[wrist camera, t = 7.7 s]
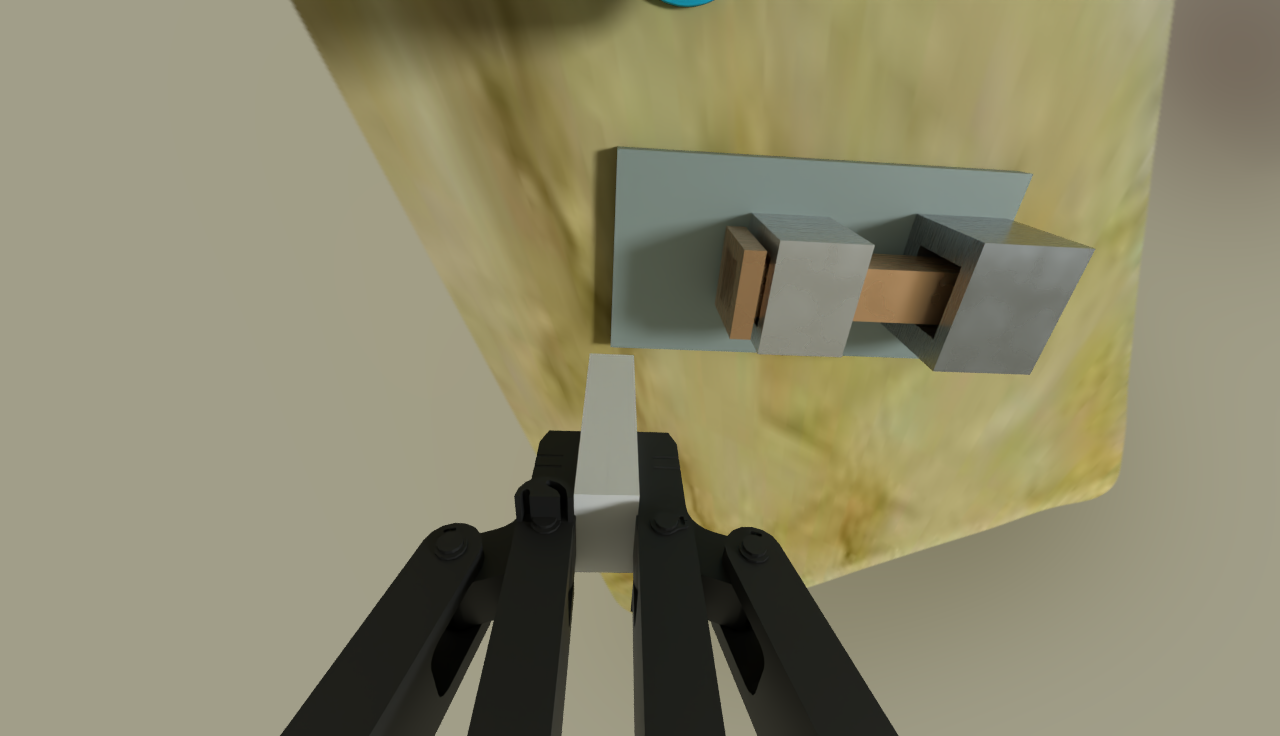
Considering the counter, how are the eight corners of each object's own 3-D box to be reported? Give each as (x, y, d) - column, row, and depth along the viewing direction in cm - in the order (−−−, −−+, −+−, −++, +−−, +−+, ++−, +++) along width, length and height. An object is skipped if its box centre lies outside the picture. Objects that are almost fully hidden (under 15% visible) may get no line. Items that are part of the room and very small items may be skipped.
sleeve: (751, 212, 31) (780, 240, 25) (829, 216, 31) (875, 245, 26) (735, 310, 34) (757, 353, 29) (806, 313, 34) (841, 357, 29)
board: (617, 146, 30) (617, 148, 29) (1019, 171, 31) (1033, 174, 30) (610, 339, 36) (610, 347, 35) (944, 352, 38) (954, 359, 37)
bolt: (726, 225, 30) (744, 249, 26) (959, 238, 31) (1016, 263, 27) (714, 304, 33) (729, 339, 28) (931, 313, 34) (978, 348, 29)
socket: (916, 213, 31) (985, 243, 25) (1006, 218, 32) (1095, 248, 26) (880, 323, 35) (933, 371, 29) (961, 326, 35) (1030, 374, 29)
